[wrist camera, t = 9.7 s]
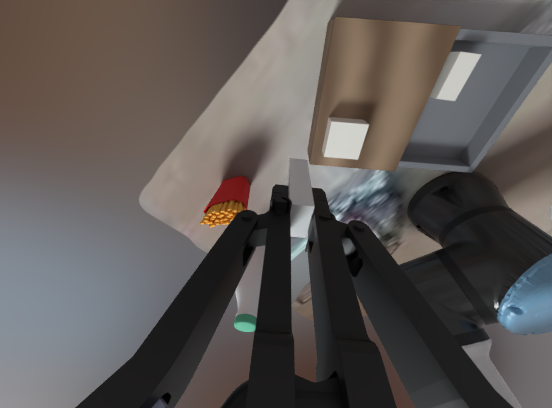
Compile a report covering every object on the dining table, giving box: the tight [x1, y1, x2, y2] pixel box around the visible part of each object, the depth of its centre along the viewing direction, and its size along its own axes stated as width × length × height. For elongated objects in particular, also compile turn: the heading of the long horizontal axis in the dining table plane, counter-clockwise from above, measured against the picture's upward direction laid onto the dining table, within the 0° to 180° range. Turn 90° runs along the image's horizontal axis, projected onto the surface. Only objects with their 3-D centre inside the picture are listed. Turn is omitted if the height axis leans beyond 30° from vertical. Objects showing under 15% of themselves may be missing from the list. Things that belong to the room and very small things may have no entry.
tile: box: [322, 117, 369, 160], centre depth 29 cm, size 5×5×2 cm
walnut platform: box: [308, 17, 461, 171], centre depth 30 cm, size 14×18×6 cm
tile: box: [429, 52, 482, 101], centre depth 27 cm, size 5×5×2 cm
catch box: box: [397, 29, 552, 173], centre depth 31 cm, size 14×18×4 cm
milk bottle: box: [234, 245, 265, 332], centre depth 48 cm, size 8×8×20 cm
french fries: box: [200, 176, 250, 227], centre depth 39 cm, size 8×4×12 cm, turn 109°
